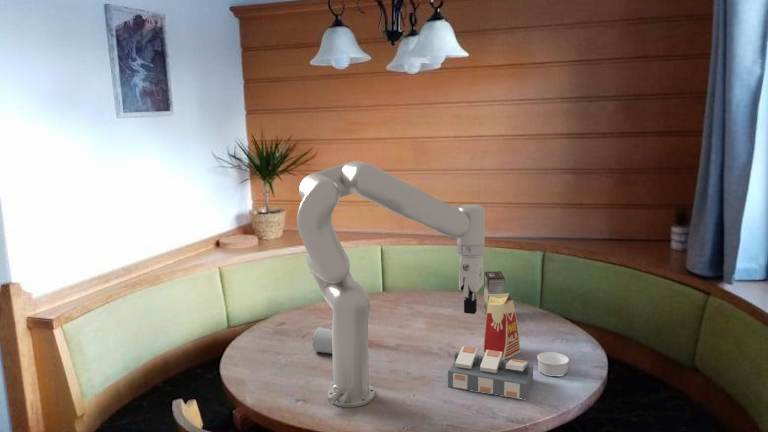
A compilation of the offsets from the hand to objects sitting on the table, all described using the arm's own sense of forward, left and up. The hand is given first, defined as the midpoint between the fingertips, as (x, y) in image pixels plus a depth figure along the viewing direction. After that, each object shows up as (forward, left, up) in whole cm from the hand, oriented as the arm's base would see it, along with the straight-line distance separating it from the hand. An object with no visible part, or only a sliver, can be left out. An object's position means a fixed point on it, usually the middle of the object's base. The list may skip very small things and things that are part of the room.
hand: (470, 312), depth 163 cm
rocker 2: (-3, -14, -12) cm, 19 cm away
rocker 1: (-3, 0, -12) cm, 13 cm away
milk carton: (+19, -5, -19) cm, 27 cm away
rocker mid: (-3, -7, -12) cm, 14 cm away
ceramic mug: (+1, +46, -19) cm, 50 cm away
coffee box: (+51, +4, -19) cm, 55 cm away
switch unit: (-3, -7, -19) cm, 20 cm away
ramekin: (+11, -22, -19) cm, 31 cm away
